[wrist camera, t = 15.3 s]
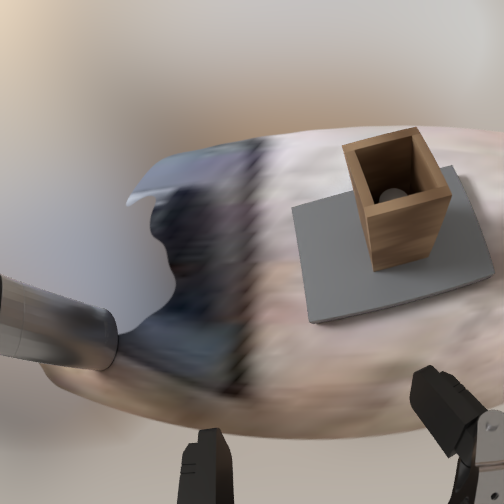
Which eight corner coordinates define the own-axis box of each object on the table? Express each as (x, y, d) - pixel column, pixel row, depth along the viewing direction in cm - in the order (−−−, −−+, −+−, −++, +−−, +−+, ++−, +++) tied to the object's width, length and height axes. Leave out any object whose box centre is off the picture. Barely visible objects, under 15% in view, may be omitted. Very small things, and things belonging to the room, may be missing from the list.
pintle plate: (313, 323, 24) (286, 311, 18) (295, 214, 28) (268, 173, 22) (489, 277, 18) (523, 247, 12) (450, 173, 22) (460, 122, 16)
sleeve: (373, 271, 22) (366, 217, 13) (359, 218, 24) (341, 145, 15) (428, 257, 20) (452, 194, 12) (410, 205, 22) (416, 126, 14)
